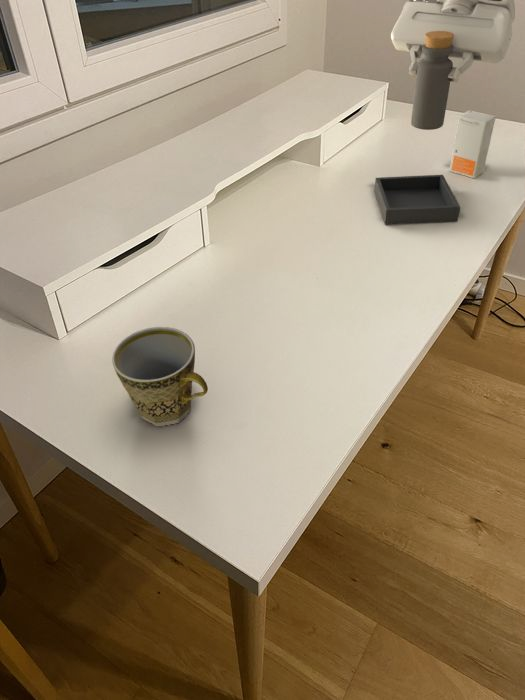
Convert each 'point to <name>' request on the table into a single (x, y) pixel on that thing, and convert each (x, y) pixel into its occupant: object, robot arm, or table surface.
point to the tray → (416, 200)
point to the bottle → (432, 81)
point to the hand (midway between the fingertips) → (432, 77)
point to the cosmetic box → (472, 143)
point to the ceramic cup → (158, 373)
